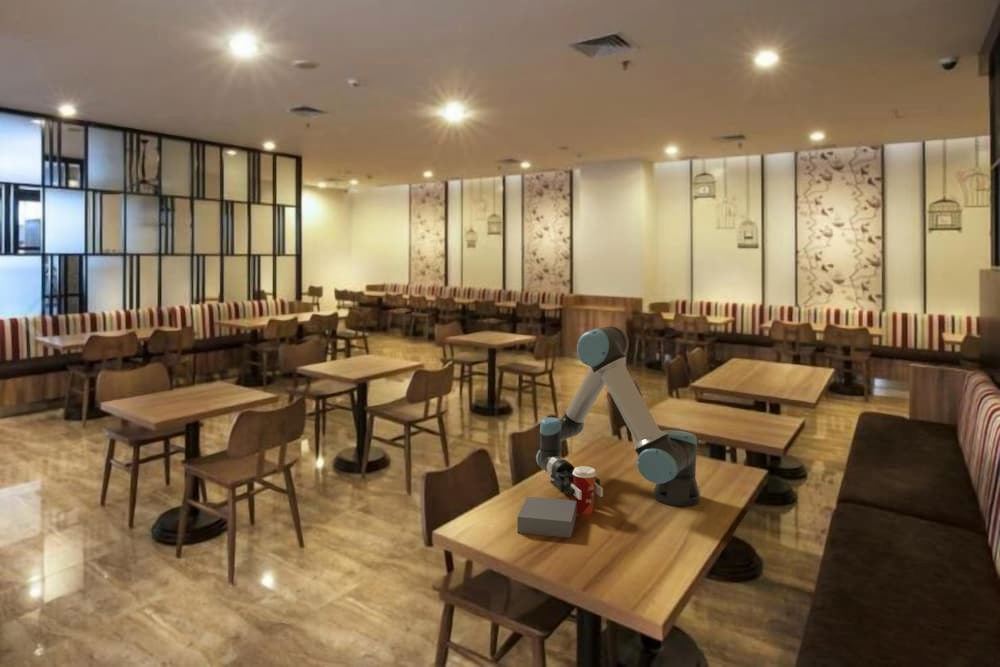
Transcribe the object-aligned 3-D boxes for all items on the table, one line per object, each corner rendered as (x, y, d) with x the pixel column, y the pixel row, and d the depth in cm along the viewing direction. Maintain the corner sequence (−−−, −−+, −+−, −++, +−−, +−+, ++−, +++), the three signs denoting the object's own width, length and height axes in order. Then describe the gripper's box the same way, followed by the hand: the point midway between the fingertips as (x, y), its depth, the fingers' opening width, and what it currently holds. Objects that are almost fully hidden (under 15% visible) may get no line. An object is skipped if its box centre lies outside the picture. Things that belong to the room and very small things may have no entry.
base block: (576, 515, 200) (576, 500, 200) (571, 537, 185) (571, 521, 184) (526, 511, 204) (526, 496, 203) (517, 532, 188) (517, 516, 188)
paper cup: (595, 517, 199) (596, 474, 198) (570, 515, 201) (571, 472, 199) (596, 507, 207) (597, 466, 205) (572, 505, 208) (573, 464, 207)
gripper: (586, 477, 223) (618, 501, 202) (534, 483, 217) (562, 509, 196) (586, 456, 222) (619, 479, 201) (535, 462, 216) (562, 486, 195)
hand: (591, 493), depth 198 cm, fingers closed on paper cup, 7 cm apart
